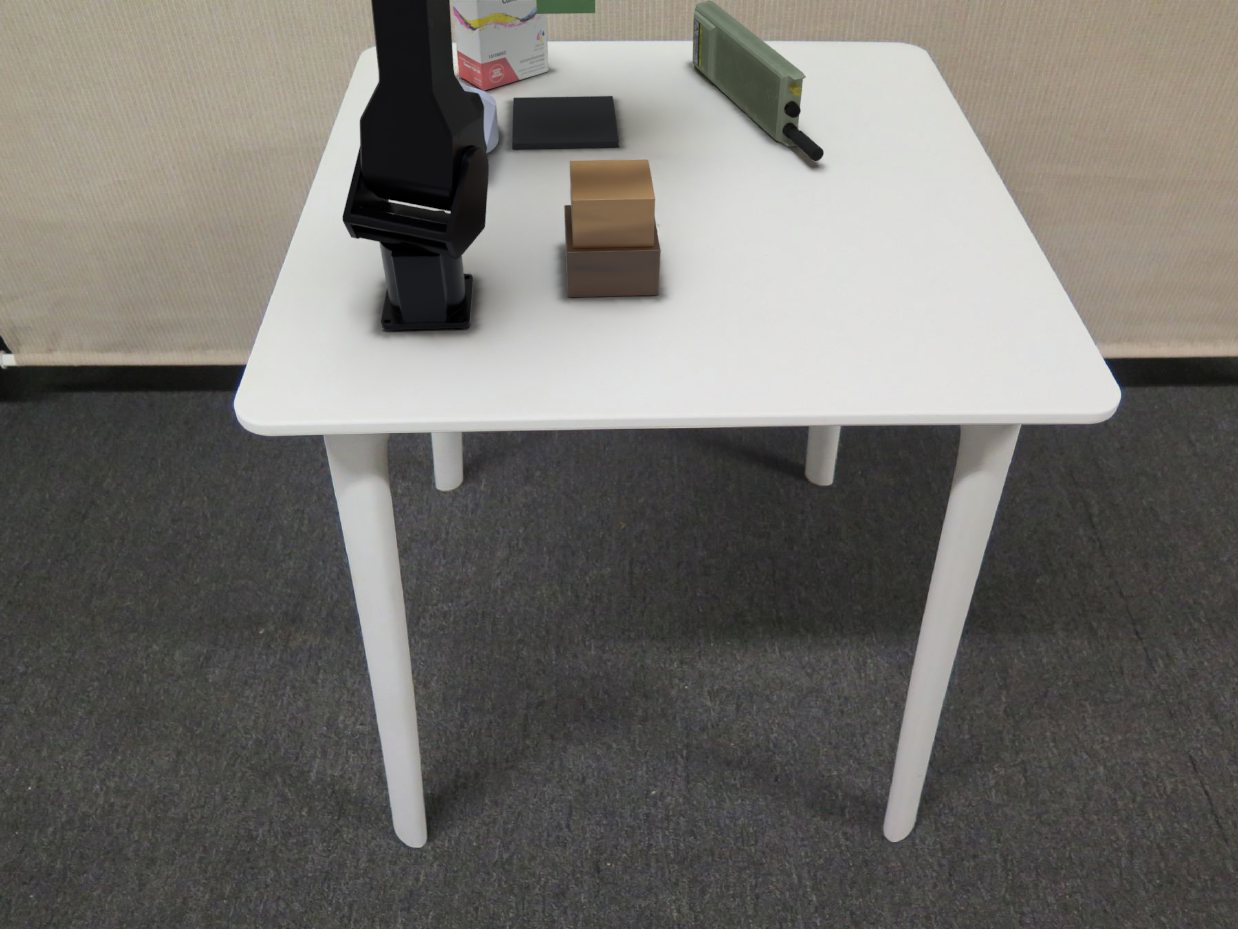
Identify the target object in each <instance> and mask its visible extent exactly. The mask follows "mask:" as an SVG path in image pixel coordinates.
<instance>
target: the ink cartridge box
mask: <svg viewBox="0 0 1238 929" xmlns="http://www.w3.org/2000/svg"><path fill="white" fill-rule="evenodd" d="M451 2H452V3H451V4H452V13H453V26H454V34H455V46H456V47H455V48H456V57H457V58H456V59H457V67H458V76H459V77H460V78H462V79H464V80H465V81H468V82H469V83H471V84H472V85H474V86H475V87H477V88H478V89H480V90H482V91H487V90H490V89H493V88H494V89H495V88H497V87H500V86H504V85H508V84H510V83H511V84H512V83H513V82H517V81H521V80H525V79H527V78H531V77H535V76H538V75H541V74H544V73H547V72H549V45H548V44H549V43H548V14H537V5H536V0H451Z"/></svg>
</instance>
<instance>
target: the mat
mask: <svg viewBox="0 0 1238 929" xmlns="http://www.w3.org/2000/svg"><path fill="white" fill-rule="evenodd" d="M512 103H513V104H512V137H511V138H512V140H511V143H512V145H511V146H512V150H532V149H533V150H538V149H539V150H540V149H541V150H542V149H543V150H544V149H591V148H592V149H593V148H594V149H595V148H619V147H620V140H619V132H618V125H617V118H616V117H617V116H616V110H615V102H614V96H613V95H596V96H595V95H593V96H591V95H589V96H588V95H586V96H533V97H532V96H529V97H527V96H526V97H513V102H512Z"/></svg>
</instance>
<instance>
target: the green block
mask: <svg viewBox="0 0 1238 929" xmlns="http://www.w3.org/2000/svg"><path fill="white" fill-rule="evenodd" d="M536 5H537V14H547V15H559V14H560V15H563V14H565V15H566V14H567V15H568V14H571V15H572V14H575V15H576V14H596V0H536Z"/></svg>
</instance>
